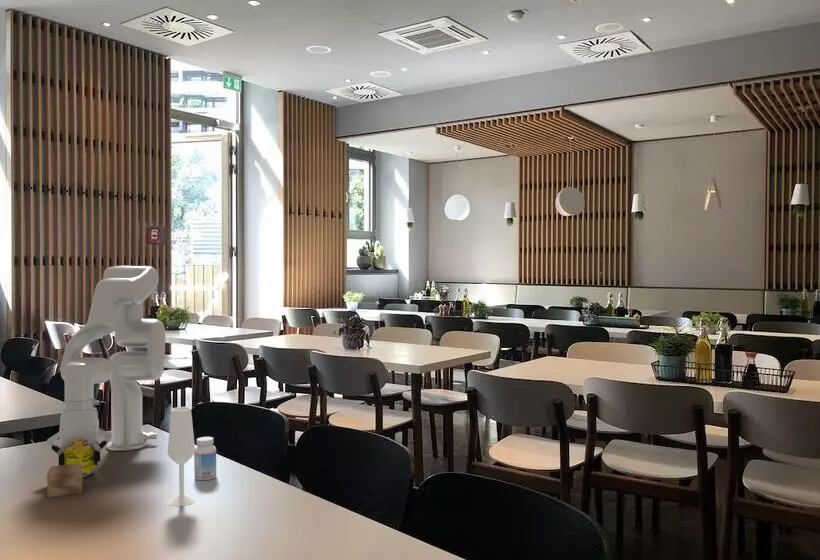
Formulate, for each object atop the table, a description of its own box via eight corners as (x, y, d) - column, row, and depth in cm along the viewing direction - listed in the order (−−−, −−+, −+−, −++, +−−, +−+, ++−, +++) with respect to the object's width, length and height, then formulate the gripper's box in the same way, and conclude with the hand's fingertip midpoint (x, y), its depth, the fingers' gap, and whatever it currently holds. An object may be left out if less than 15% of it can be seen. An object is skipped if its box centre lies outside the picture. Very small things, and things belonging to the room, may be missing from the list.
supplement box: (82, 480, 194) (81, 441, 194) (63, 478, 195) (63, 440, 195) (95, 473, 200) (95, 436, 200) (77, 472, 201) (77, 435, 201)
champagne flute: (194, 495, 181) (194, 405, 181) (196, 504, 175) (195, 410, 175) (167, 498, 179) (166, 407, 178) (168, 507, 173) (167, 412, 172)
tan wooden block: (82, 484, 191) (82, 463, 190) (81, 493, 183) (81, 471, 183) (50, 488, 187) (49, 466, 187) (47, 497, 180) (47, 474, 180)
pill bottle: (219, 474, 200) (219, 436, 199) (211, 481, 193) (211, 441, 193) (199, 474, 200) (199, 435, 200) (190, 480, 194) (190, 441, 194)
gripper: (112, 400, 204) (112, 459, 204) (46, 405, 197) (46, 465, 197) (112, 405, 197) (112, 466, 197) (43, 410, 190) (44, 473, 191)
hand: (79, 465), depth 197 cm, fingers closed on supplement box, 8 cm apart
